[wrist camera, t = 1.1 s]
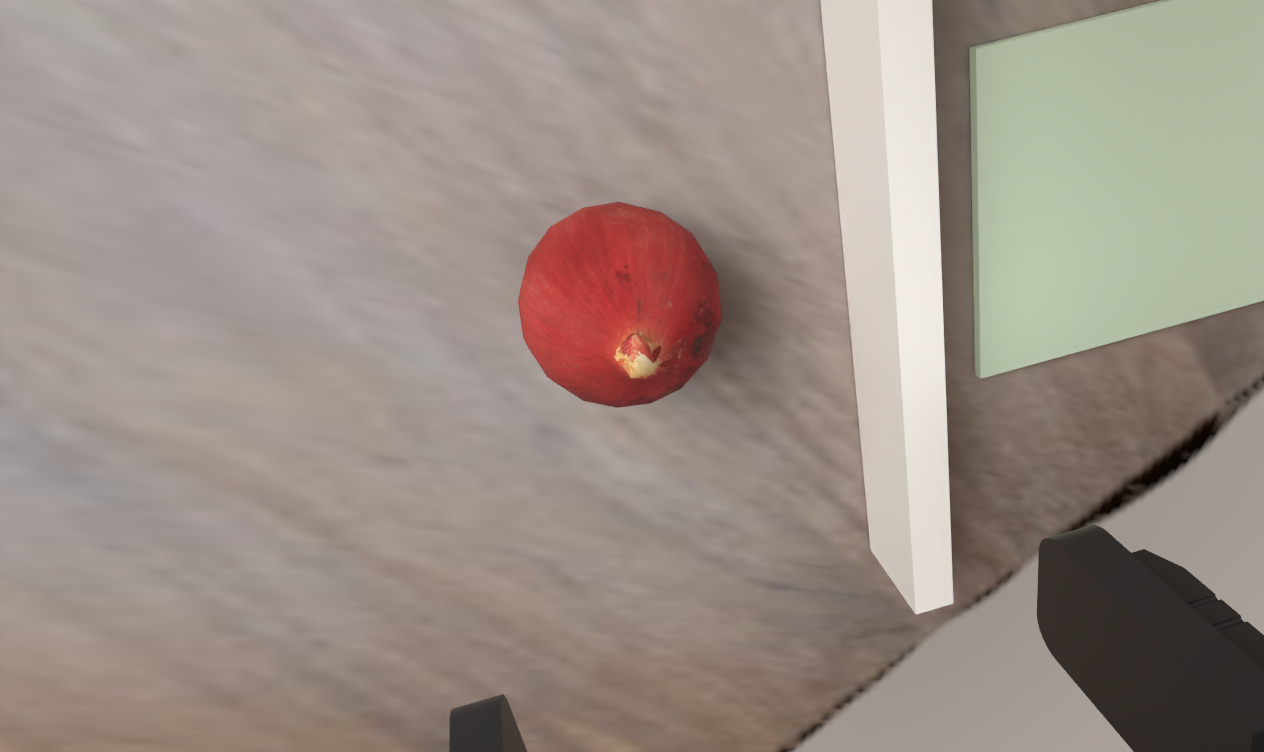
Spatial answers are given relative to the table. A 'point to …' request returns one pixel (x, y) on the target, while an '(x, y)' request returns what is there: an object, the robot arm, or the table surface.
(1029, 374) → the table surface
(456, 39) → the table surface
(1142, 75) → the mat
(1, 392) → the table surface
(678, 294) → the onion
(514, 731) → the robot arm
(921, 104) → the low wall
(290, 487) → the table surface
